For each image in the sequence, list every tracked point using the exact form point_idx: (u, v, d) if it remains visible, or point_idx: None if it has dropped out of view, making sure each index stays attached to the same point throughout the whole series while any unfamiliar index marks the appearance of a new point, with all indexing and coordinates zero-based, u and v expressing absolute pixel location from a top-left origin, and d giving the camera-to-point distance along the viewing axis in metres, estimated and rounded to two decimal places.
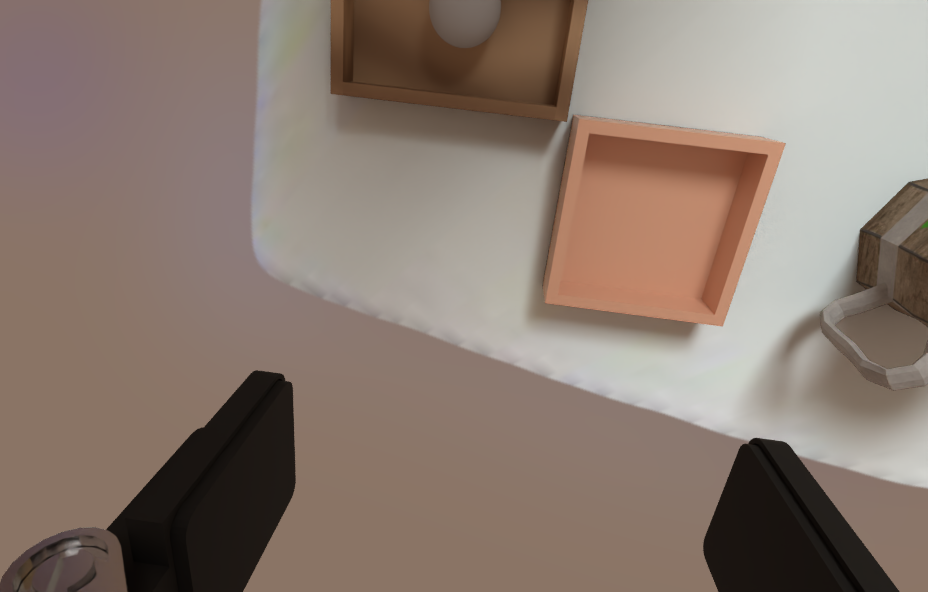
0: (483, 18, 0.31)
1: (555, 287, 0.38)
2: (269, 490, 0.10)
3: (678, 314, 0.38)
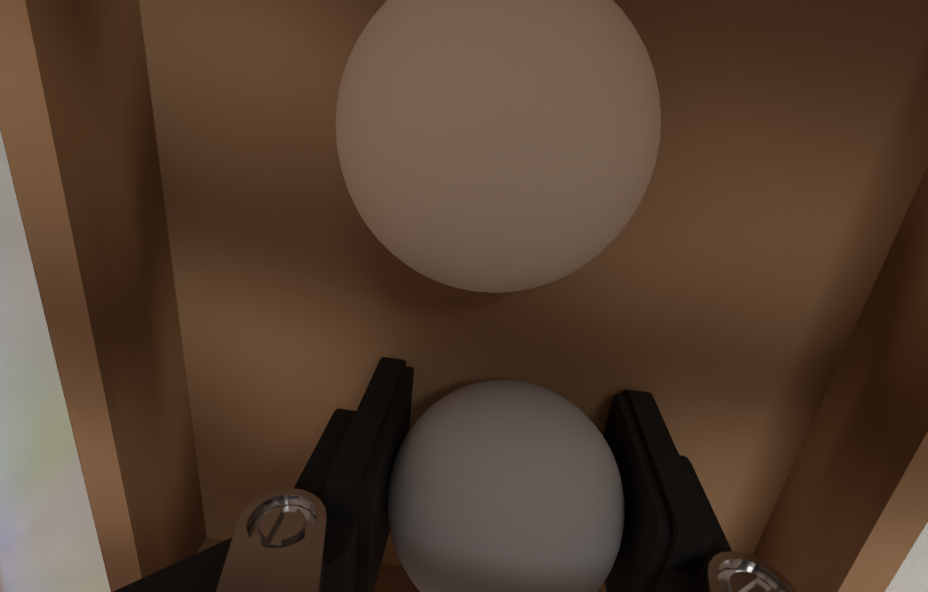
0: None
1: None
2: None
3: None
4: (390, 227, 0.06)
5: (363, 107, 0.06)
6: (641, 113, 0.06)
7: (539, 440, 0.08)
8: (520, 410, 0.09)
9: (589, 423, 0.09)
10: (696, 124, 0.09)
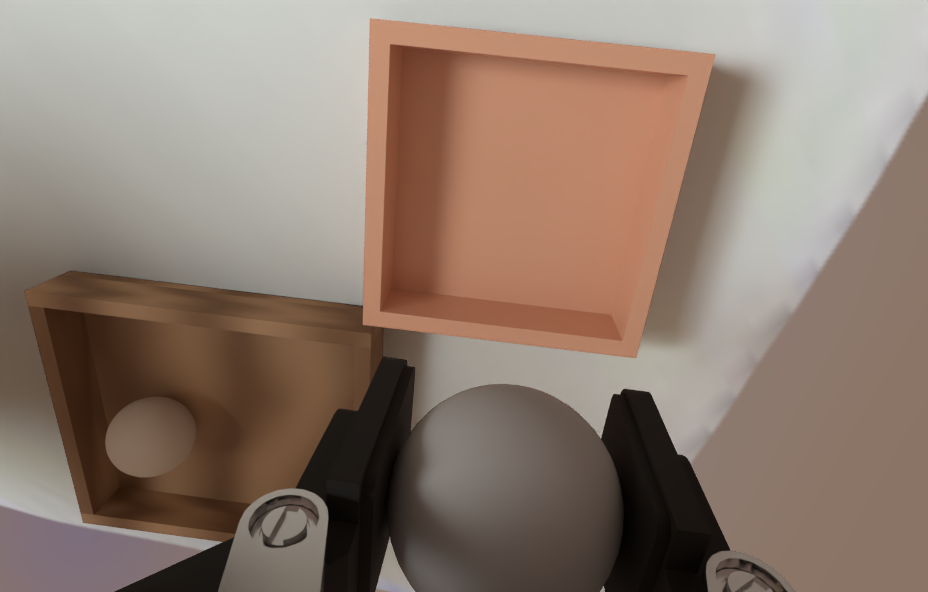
0: None
1: (610, 344, 0.24)
2: None
3: (680, 144, 0.21)
4: (155, 473, 0.28)
5: (132, 475, 0.29)
6: (121, 426, 0.28)
7: (538, 444, 0.08)
8: (519, 415, 0.09)
9: (588, 428, 0.09)
10: (161, 363, 0.30)
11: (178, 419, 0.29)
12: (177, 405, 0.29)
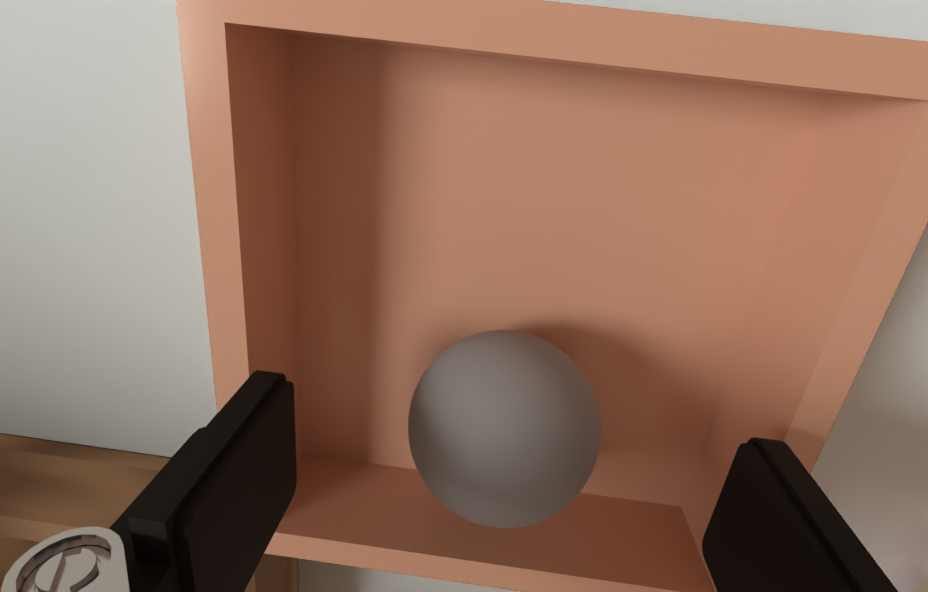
0: (560, 504, 0.11)
1: None
2: (271, 490, 0.10)
3: (885, 254, 0.09)
4: None
5: None
6: None
7: (530, 369, 0.11)
8: (515, 348, 0.11)
9: (572, 361, 0.12)
10: None
11: None
12: None
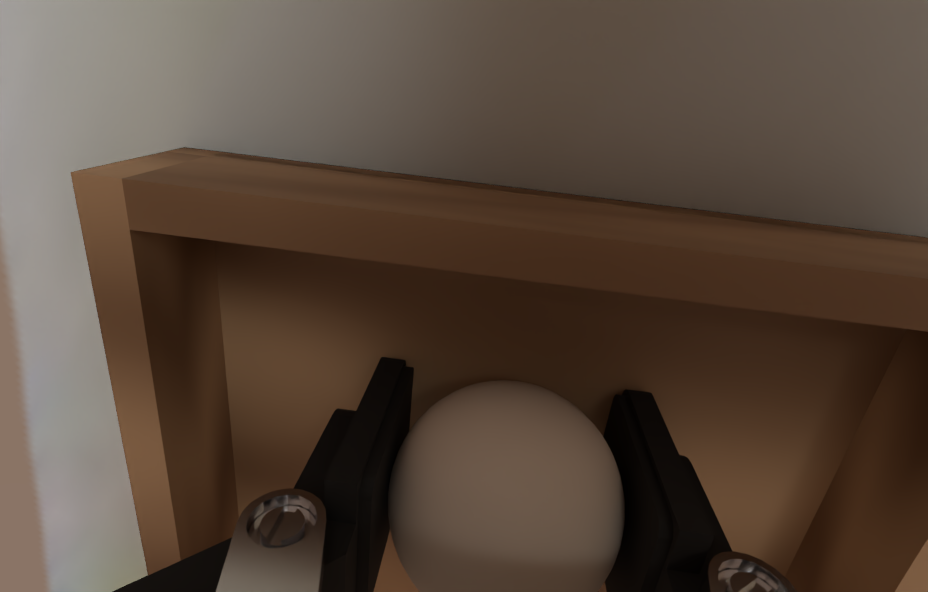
0: None
1: None
2: None
3: None
4: None
5: (415, 542, 0.08)
6: (609, 545, 0.08)
7: None
8: None
9: None
10: None
11: None
12: None
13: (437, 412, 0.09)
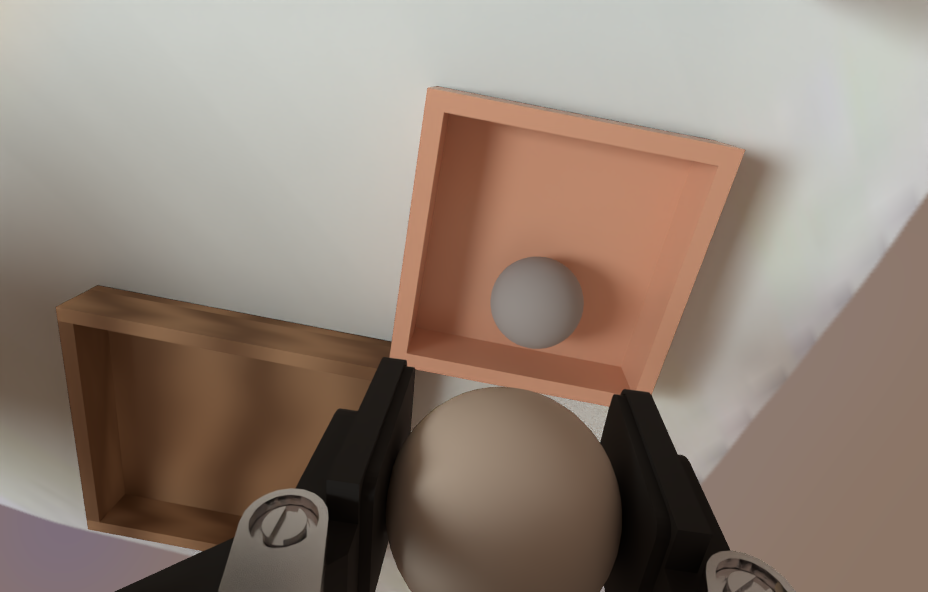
0: (564, 333, 0.24)
1: None
2: None
3: (705, 226, 0.22)
4: None
5: (412, 549, 0.08)
6: (605, 553, 0.08)
7: (554, 270, 0.23)
8: (547, 262, 0.24)
9: None
10: (180, 379, 0.31)
11: None
12: None
13: (435, 419, 0.09)
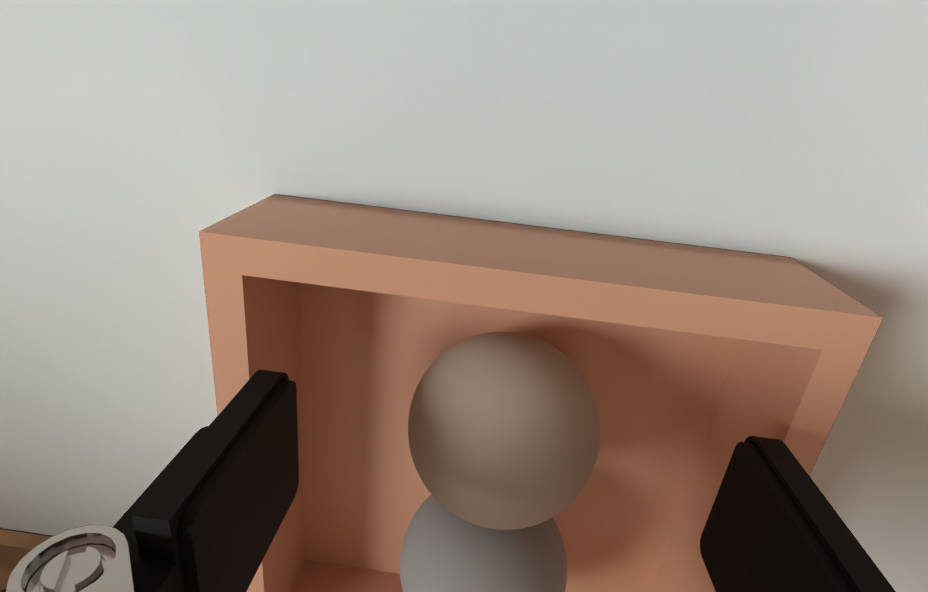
0: None
1: None
2: (273, 489, 0.10)
3: (795, 456, 0.11)
4: (444, 504, 0.11)
5: (432, 451, 0.11)
6: (585, 454, 0.11)
7: (505, 530, 0.12)
8: None
9: None
10: None
11: None
12: None
13: (448, 354, 0.12)
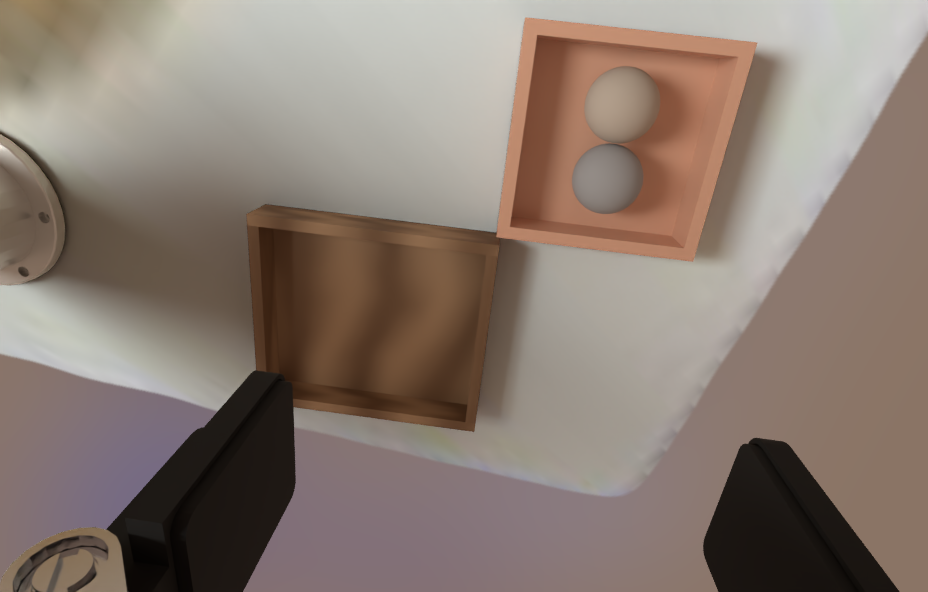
0: (631, 195, 0.32)
1: (675, 251, 0.34)
2: (269, 490, 0.10)
3: (731, 104, 0.30)
4: (604, 123, 0.31)
5: (603, 98, 0.30)
6: (657, 99, 0.30)
7: (621, 148, 0.32)
8: (615, 144, 0.32)
9: None
10: (327, 276, 0.40)
11: None
12: None
13: (603, 73, 0.31)
